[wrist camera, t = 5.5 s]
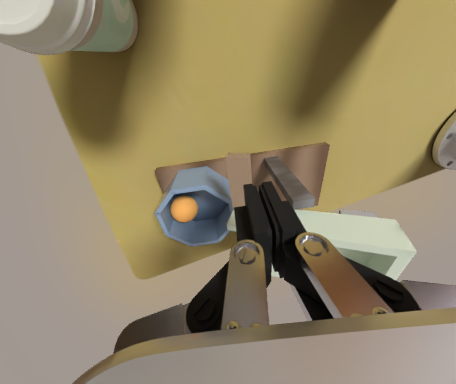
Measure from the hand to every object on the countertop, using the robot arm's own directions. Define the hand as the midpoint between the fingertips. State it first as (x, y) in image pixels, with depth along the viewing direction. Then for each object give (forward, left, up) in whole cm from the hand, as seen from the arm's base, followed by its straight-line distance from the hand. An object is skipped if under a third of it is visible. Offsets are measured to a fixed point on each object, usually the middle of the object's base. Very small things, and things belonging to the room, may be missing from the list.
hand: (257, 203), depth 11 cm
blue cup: (+7, +8, -15) cm, 18 cm away
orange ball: (+9, +8, -12) cm, 17 cm away
